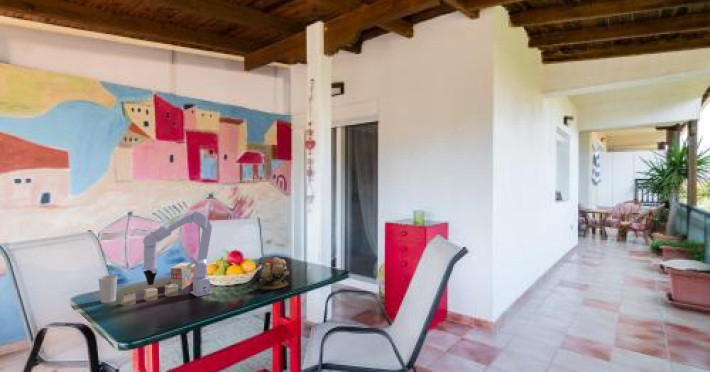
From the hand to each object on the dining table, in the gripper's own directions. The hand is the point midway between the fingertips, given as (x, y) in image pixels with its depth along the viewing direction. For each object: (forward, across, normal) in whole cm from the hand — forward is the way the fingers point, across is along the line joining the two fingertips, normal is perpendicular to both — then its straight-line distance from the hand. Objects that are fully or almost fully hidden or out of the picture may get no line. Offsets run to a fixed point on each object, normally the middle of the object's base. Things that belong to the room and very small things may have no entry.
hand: (150, 284), depth 189 cm
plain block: (+8, 0, 0) cm, 8 cm away
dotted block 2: (+8, 0, +10) cm, 12 cm away
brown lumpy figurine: (+8, +26, +57) cm, 63 cm away
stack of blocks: (+8, -15, +23) cm, 28 cm away
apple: (+7, +8, +67) cm, 68 cm away
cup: (+8, -12, -16) cm, 21 cm away
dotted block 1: (+8, 0, -10) cm, 12 cm away
